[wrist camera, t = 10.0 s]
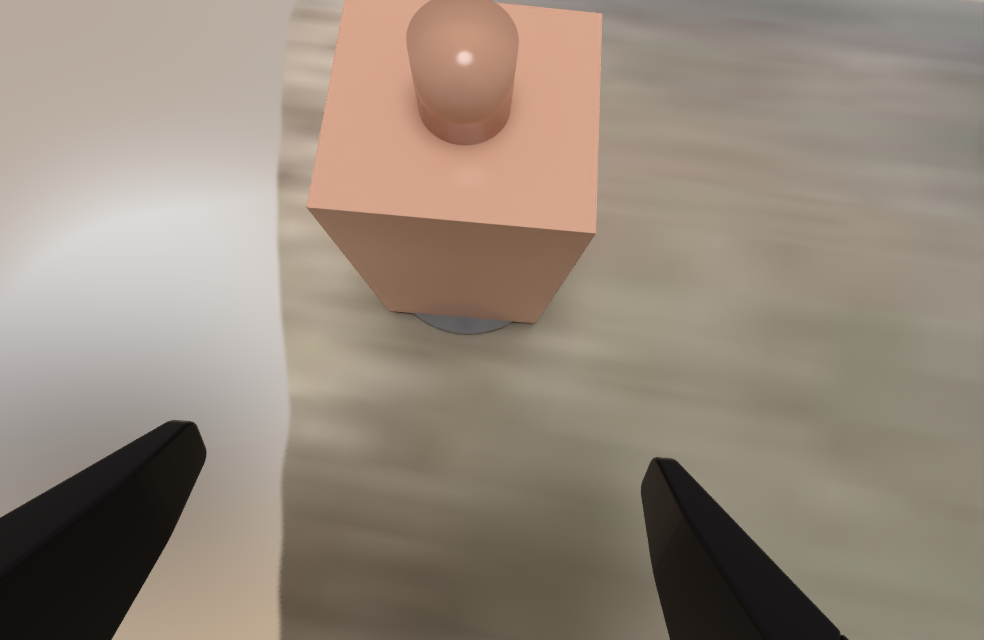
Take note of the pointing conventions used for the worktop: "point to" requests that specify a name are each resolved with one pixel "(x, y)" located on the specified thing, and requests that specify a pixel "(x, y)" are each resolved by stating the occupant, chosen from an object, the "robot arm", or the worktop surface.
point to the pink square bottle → (461, 152)
